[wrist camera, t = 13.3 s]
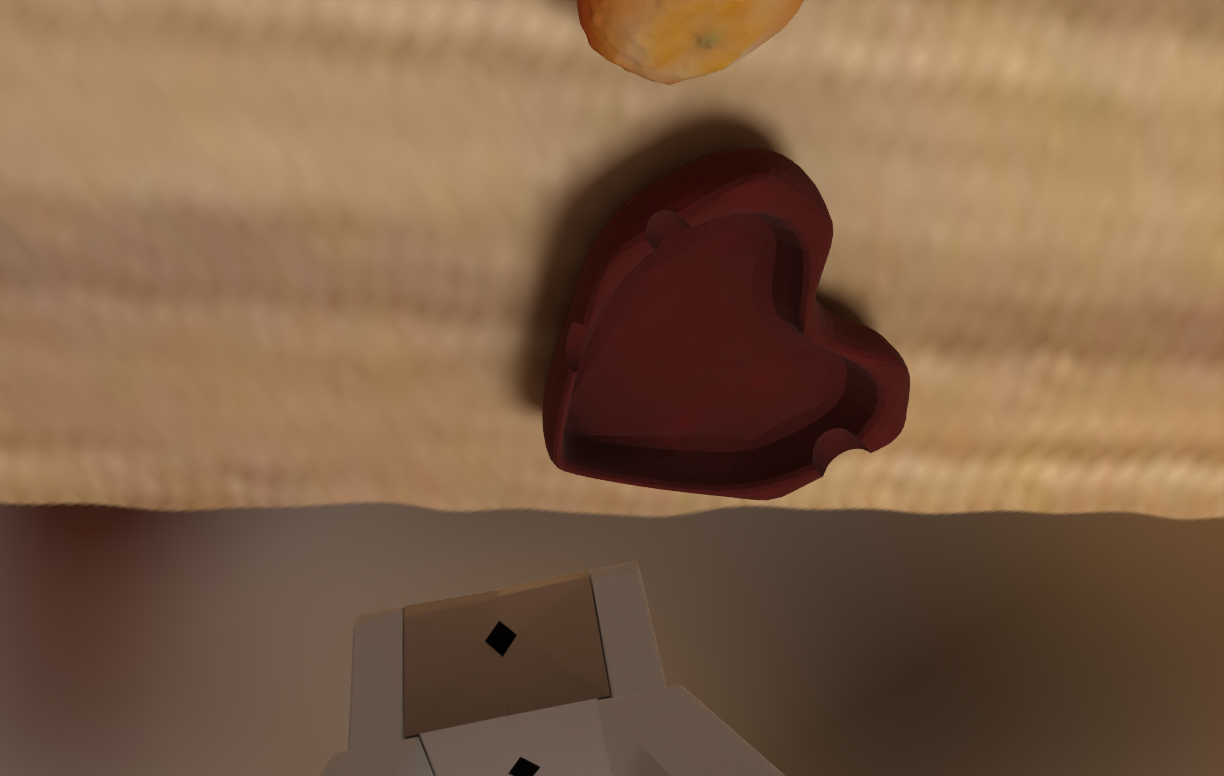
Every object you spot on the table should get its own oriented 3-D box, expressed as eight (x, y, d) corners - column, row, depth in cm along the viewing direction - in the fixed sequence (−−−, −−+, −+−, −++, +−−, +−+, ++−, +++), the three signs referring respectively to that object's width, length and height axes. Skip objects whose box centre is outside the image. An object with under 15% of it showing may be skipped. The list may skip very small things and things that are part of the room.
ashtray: (436, 278, 49) (439, 343, 45) (762, 87, 46) (795, 139, 42) (627, 508, 60) (643, 577, 56) (902, 366, 56) (939, 429, 52)
